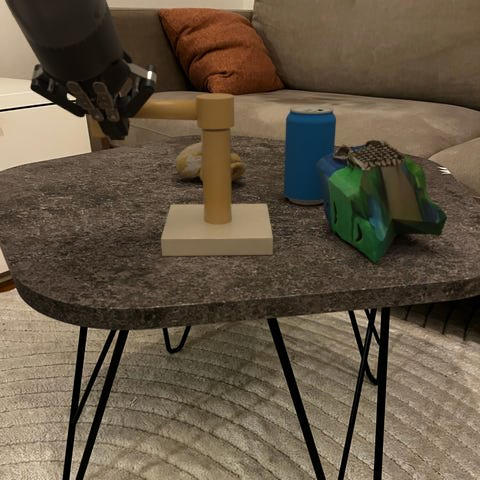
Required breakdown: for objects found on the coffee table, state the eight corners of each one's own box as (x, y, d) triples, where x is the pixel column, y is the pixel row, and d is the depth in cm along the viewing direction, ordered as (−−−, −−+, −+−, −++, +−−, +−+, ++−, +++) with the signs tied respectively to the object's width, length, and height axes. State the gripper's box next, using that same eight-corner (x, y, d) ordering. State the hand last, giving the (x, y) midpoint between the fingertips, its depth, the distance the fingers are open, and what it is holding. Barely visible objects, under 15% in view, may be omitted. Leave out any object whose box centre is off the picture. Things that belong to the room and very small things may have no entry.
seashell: (219, 128, 96) (252, 141, 83) (226, 165, 99) (258, 183, 86) (161, 142, 94) (185, 157, 81) (169, 179, 97) (194, 200, 84)
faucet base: (162, 256, 64) (153, 140, 58) (171, 219, 74) (165, 119, 69) (272, 255, 64) (275, 139, 58) (266, 218, 74) (268, 118, 69)
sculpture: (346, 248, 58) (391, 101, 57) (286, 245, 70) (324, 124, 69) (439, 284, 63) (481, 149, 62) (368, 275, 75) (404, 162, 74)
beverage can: (338, 197, 82) (345, 107, 77) (316, 209, 78) (322, 114, 72) (298, 190, 86) (301, 103, 80) (274, 201, 81) (276, 109, 75)
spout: (238, 136, 65) (237, 93, 63) (229, 144, 62) (229, 99, 60) (100, 131, 68) (95, 90, 66) (85, 139, 65) (79, 95, 63)
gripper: (144, -29, 49) (181, 105, 66) (-6, -27, 51) (67, 104, 67) (132, 44, 47) (174, 164, 64) (-25, 44, 48) (56, 161, 65)
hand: (119, 133), depth 65 cm, fingers closed
